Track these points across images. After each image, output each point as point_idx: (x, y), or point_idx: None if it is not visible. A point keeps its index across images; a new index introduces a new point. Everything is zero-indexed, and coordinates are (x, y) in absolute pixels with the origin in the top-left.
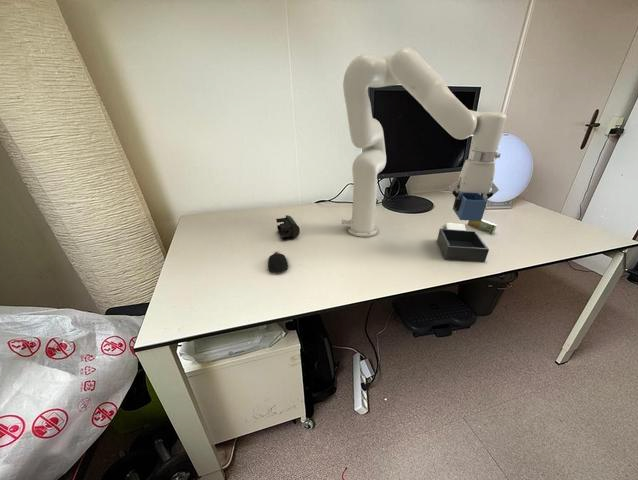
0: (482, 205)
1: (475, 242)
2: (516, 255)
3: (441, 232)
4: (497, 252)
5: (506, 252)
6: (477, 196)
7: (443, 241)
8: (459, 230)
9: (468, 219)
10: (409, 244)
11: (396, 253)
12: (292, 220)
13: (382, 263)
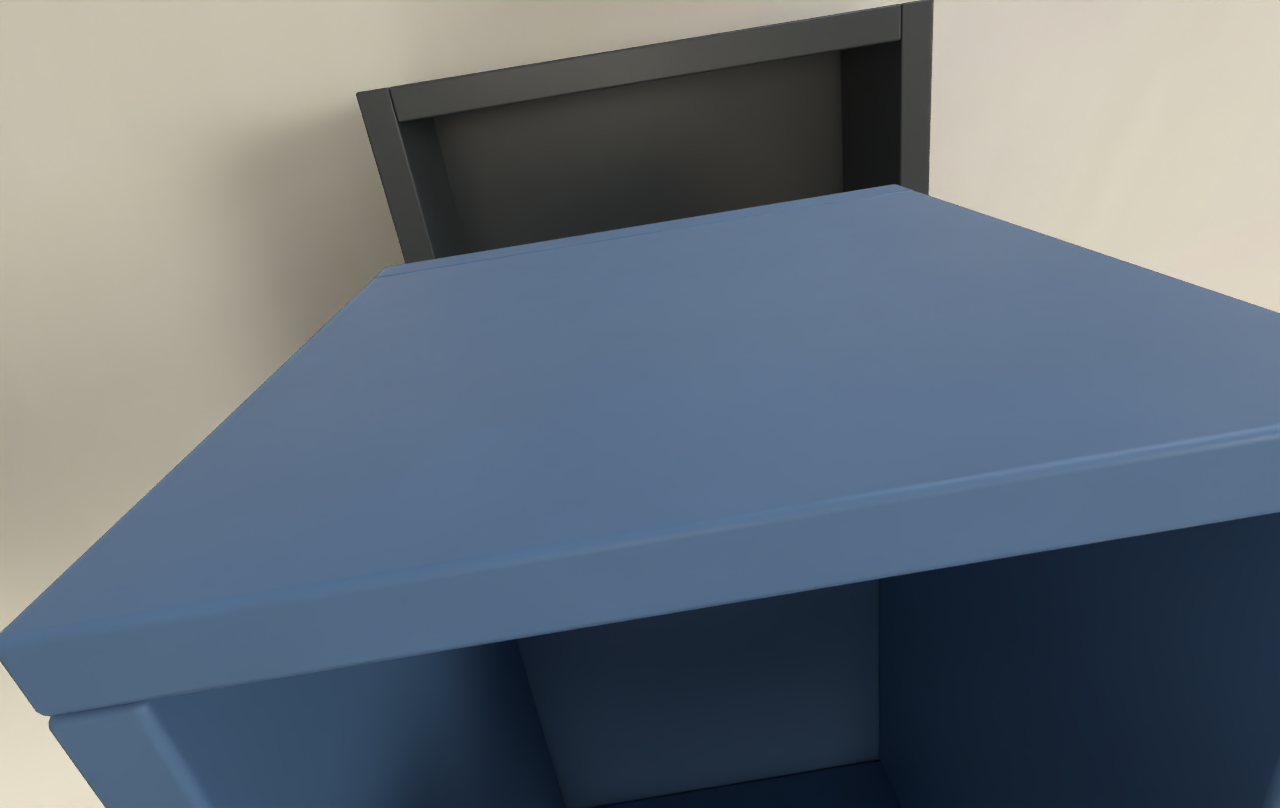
0: None
1: None
2: (1245, 214)
3: (397, 233)
4: (1073, 203)
5: (1175, 172)
6: (1148, 709)
7: None
8: (672, 66)
9: (682, 795)
10: (103, 313)
11: (56, 539)
12: None
13: (24, 710)
